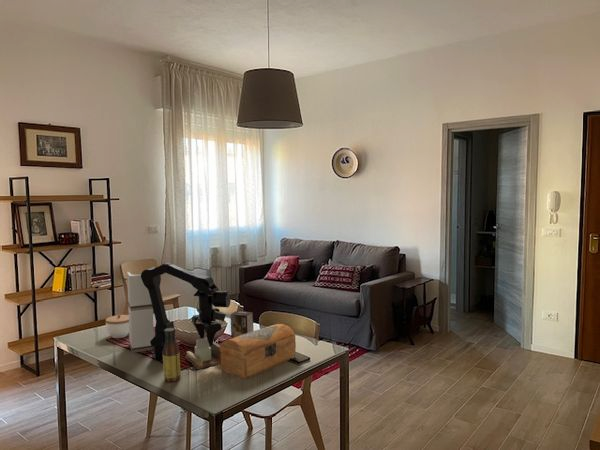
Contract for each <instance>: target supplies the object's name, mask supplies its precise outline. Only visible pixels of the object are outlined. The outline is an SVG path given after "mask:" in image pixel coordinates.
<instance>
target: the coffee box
mask: <svg viewBox="0 0 600 450" xmlns="http://www.w3.org/2000/svg"><path fill="white" fill-rule="evenodd" d="M252 331H255V330H254V312H252V311H251V312H250V311H243V310H241V311H240V310H235V311H234V312H231V313H230V339H232V338H235V337H238V336H241V335H243V334H246V333H249V332H252Z"/></svg>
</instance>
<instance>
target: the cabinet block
mask: <svg viewBox="0 0 600 450" xmlns="http://www.w3.org/2000/svg"><path fill="white" fill-rule="evenodd" d="M195 342H196V344H195V346H194V355H196V356H197V357H198V358H200V359H201V360H202V362H203V361H207V360H211V348H210V347H209V343H208V340H207V337H204V338H202V339H201V338H197V339H195Z"/></svg>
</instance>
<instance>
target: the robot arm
mask: <svg viewBox="0 0 600 450" xmlns="http://www.w3.org/2000/svg"><path fill="white" fill-rule="evenodd" d="M164 274H168V275H170V276H172V277H175V278H177V279H180V280H182V281H184V282H186V283H189V284H190V285H191V286H192V287H193V288H194V289H196V292H195V293H194V294H193V296H194V297H198V308H197V309H196V311H197V312H198V314H194V315H193V316H192V317H191V323H192V325H193V326H194V328H195V330H196V332H197V334H198V336H199V339H202V338H207V340H208V343H209V345H212V344H213V341H214V337H215V334H216V333H217V332H218V333H219V332H220V331H221V330H222V324H221V323H220V322H219V323H218V322H216V320H219V321H221V322H224V321H225V319H226V316H227V314H226V313H224V312H222V311H220V309H219V308H230V306H231V303H232V301H231V300H232V299H231V296H230V294H229V290H219V287H217V285H216V284H215V282H214V279H213V277H211V276H209V275H205V274H199V273H198V274H197V273H194V272H192V271H190V270H187V269H185V268H183V267H180V266H177V265H176V264H173V263H172V262H164V263H162V264H160V265H159V266H157V267H154V266H152V267H149V268H147V269H144V270H143V271H142V272H141V274H140V275H141V279H142V282H143V284H144V286H145V287H146V288H147V289H148V291H149V295H150V299H151V303H152V307H153V316H154V318H155V326H154V338H153V339H152V340H151V341H150V343H151V346H153V350H152V353H153V354H152V355H151V356H152V358H153V359H154V360H155V361H159V360H160V361H161V360H163V348H164V344H165V334H164V330H165V329H167V328H175V324H174V321H173V320H171V321H170V320H169V319H168V315H167V312H166V308H165V303H164V300H163V294H162V292H161V281H162V278H161V275H164ZM214 307H215V308H214ZM212 321H215V322H212Z"/></svg>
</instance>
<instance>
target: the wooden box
mask: <svg viewBox="0 0 600 450" xmlns="http://www.w3.org/2000/svg"><path fill="white" fill-rule="evenodd" d="M296 342H297V341H296V334H295V332H294V330H293V329H292V328H291V327H290V326H288V325H286V324H282V323H276V324H273V325H269V326H267V327H262V328H259V329H255V330H254V331H252V332H249V333H246V334H243V335H241V336H238V337H235V338H232V339H231V338H229V339H225V340H223V342H222V343H221V344H219V345H220V352H221V364H220V367H221V371H224V372H226V373H229V374H231V375H234V376H237V377H240V378H242V379H244V380H246V379H247V380H248V379H249V378H252V377H254V376H256V375H258V374H260V373H263V372H265V371H267V370H269V369H272V368H275V367H276V366H279V365H281V364H284V363H286V362H288V361H290V358H292V357H293V356H295V357H296V348H297V347H296V346H297V345H296Z"/></svg>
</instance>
